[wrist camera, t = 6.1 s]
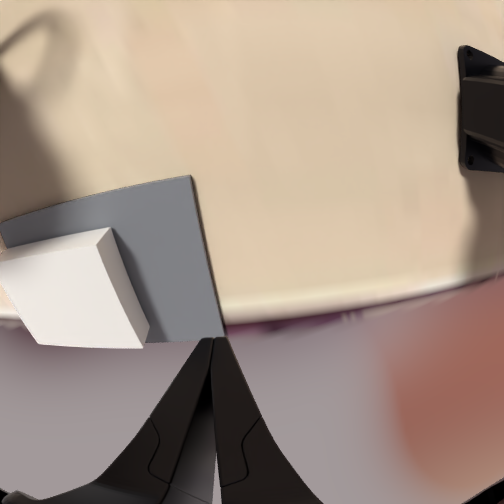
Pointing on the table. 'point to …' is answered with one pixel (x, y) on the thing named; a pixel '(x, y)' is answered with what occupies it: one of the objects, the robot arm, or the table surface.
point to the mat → (143, 251)
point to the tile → (74, 291)
